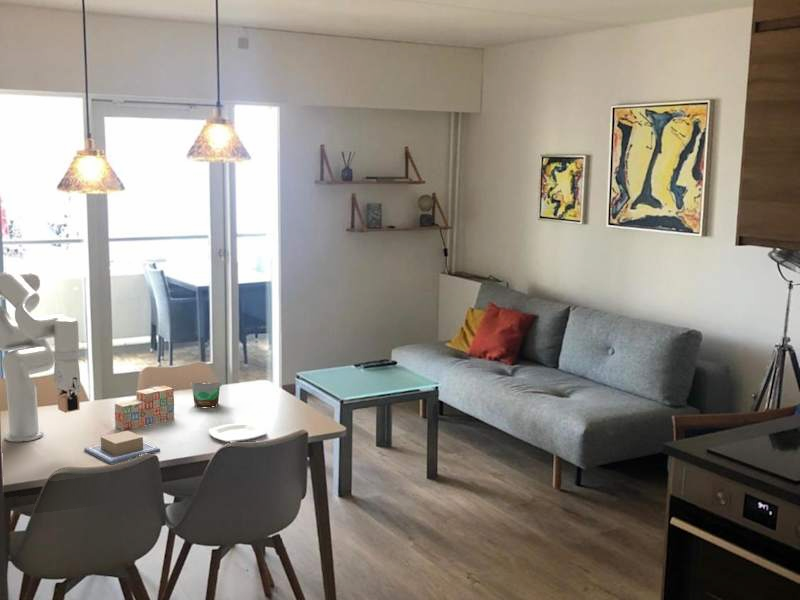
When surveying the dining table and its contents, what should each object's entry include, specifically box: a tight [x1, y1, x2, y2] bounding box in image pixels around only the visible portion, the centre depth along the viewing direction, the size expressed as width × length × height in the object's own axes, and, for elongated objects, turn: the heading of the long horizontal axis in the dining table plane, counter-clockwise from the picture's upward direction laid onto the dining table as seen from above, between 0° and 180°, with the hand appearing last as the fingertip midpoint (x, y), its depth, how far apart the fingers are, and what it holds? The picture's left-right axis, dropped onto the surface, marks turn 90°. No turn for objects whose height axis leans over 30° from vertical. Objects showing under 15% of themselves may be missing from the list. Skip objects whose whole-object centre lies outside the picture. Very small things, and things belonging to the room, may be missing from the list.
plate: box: [208, 422, 268, 443], centre depth 305 cm, size 19×19×2 cm
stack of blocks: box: [114, 385, 175, 431], centre depth 317 cm, size 21×6×12 cm, turn 138°
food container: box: [189, 380, 222, 408], centre depth 340 cm, size 12×6×10 cm, turn 104°
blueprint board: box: [83, 430, 161, 465], centre depth 286 cm, size 18×18×5 cm
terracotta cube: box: [57, 391, 80, 414], centre depth 284 cm, size 5×5×5 cm
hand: (68, 407), depth 284 cm, fingers closed on terracotta cube, 5 cm apart
